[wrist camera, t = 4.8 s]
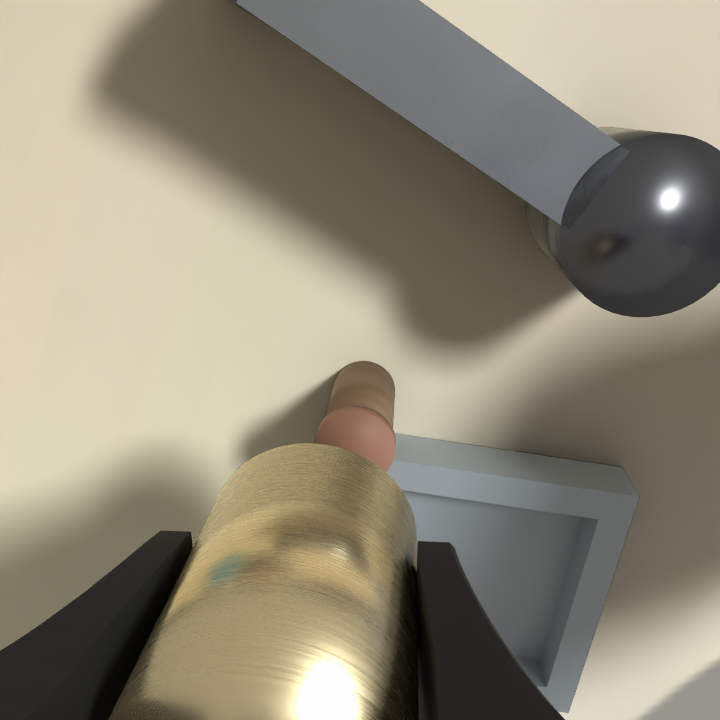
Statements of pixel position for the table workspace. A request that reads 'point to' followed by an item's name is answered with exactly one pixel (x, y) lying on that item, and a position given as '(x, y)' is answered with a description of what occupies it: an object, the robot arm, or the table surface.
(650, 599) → the table surface
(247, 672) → the cylinder
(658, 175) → the crank
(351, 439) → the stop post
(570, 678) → the tray
